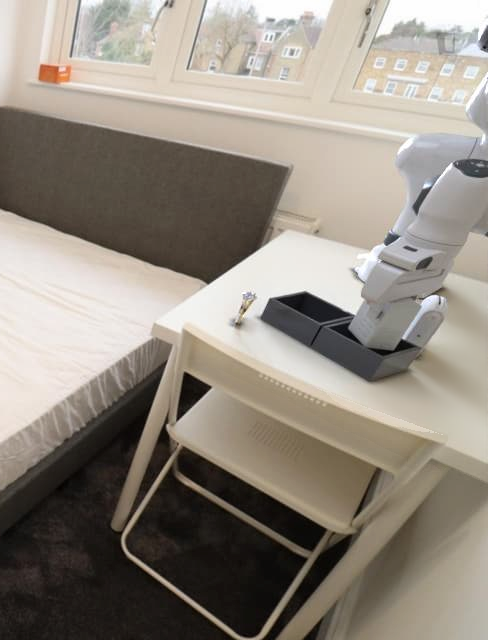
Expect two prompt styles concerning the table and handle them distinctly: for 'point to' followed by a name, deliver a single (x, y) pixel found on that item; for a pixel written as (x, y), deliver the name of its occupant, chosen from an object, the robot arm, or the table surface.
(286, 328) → the basin
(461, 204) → the robot arm
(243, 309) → the ring
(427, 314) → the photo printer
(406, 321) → the small box
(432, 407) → the table surface
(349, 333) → the basin
